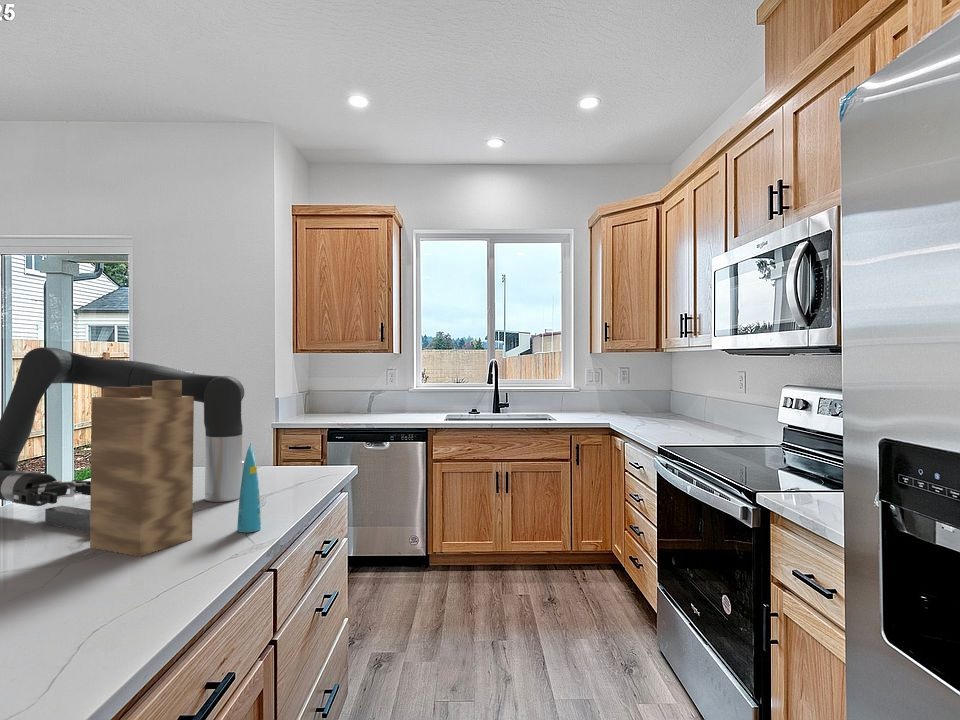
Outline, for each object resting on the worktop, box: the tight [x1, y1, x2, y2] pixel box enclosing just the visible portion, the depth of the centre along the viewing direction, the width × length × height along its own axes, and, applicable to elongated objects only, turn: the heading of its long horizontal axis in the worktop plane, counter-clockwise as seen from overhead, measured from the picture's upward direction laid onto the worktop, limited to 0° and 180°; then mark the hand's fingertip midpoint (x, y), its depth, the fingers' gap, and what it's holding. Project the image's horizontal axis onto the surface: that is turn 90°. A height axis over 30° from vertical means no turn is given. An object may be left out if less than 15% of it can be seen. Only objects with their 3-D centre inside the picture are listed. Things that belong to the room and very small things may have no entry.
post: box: [89, 380, 195, 557], centre depth 119 cm, size 12×14×34 cm
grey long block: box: [44, 505, 90, 533], centre depth 129 cm, size 6×21×4 cm, turn 68°
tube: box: [236, 441, 262, 533], centre depth 129 cm, size 7×5×19 cm, turn 26°
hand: (75, 494), depth 131 cm, fingers open, 8 cm apart
